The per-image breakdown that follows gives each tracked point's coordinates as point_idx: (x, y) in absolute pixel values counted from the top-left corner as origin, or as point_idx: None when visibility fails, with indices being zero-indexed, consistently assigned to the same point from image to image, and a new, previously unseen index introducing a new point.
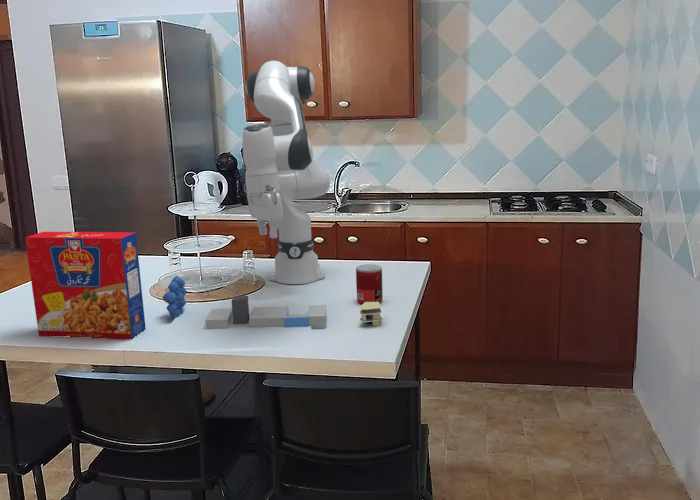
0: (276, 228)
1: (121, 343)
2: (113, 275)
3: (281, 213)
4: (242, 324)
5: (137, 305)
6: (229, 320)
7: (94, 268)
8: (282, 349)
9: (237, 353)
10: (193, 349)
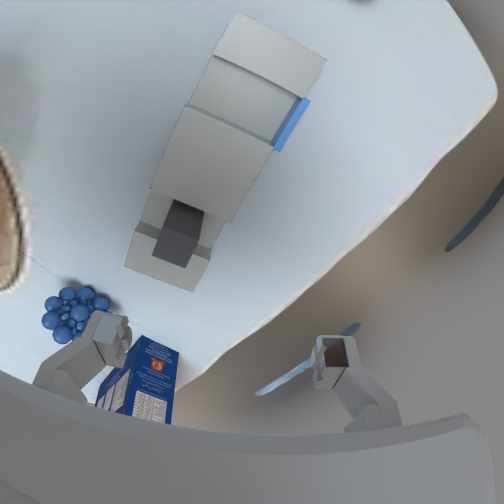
0: (375, 386)
1: (188, 361)
2: None
3: (484, 454)
4: (203, 219)
5: (149, 378)
6: None
7: None
8: (368, 195)
9: (331, 261)
10: (268, 306)
